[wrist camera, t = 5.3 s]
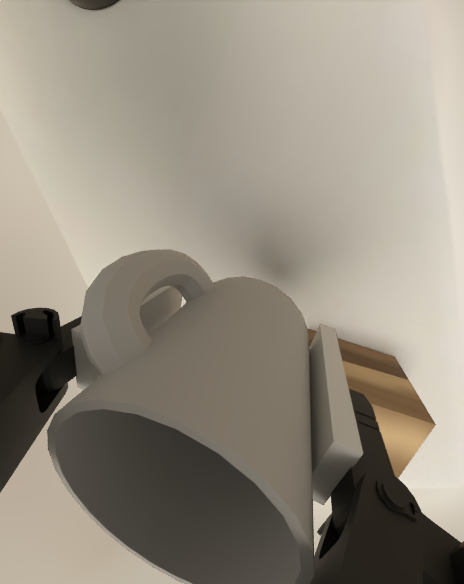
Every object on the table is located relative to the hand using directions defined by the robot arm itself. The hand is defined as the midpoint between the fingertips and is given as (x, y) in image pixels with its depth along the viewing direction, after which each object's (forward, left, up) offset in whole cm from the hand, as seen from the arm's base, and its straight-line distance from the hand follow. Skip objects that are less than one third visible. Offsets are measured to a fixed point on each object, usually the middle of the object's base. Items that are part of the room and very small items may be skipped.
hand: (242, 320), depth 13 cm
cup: (0, -1, -1) cm, 1 cm away
